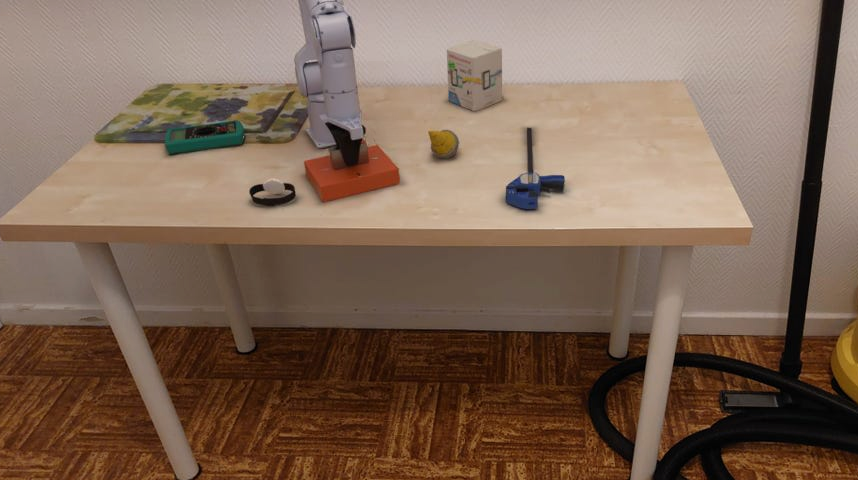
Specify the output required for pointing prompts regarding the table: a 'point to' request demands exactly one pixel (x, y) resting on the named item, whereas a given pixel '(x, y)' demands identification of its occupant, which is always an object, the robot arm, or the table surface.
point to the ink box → (474, 75)
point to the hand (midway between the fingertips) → (350, 161)
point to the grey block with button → (337, 156)
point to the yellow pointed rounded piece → (443, 143)
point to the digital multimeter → (204, 137)
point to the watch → (273, 192)
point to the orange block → (351, 175)
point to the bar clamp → (531, 183)
